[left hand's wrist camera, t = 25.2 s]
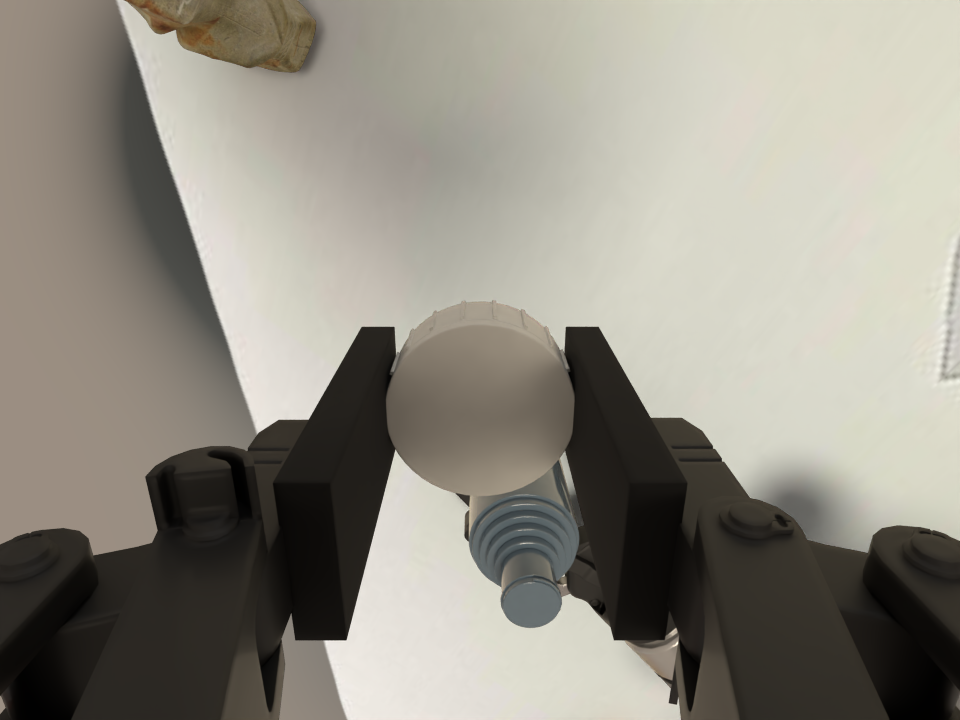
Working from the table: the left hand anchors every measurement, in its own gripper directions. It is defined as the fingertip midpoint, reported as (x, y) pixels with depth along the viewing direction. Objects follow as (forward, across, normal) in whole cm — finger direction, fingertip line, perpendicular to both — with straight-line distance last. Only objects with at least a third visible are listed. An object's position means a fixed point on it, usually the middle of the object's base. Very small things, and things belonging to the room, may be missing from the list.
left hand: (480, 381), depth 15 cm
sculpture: (+32, -14, +12) cm, 37 cm away
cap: (-1, 0, 0) cm, 1 cm away
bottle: (+32, +2, -17) cm, 36 cm away
